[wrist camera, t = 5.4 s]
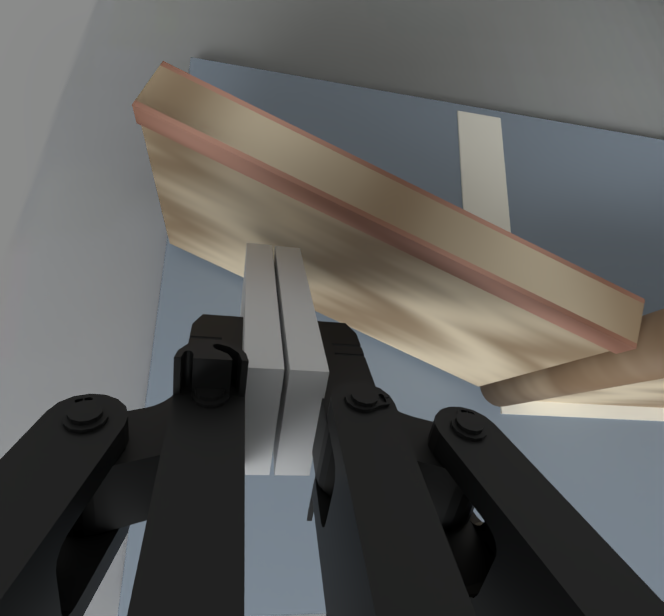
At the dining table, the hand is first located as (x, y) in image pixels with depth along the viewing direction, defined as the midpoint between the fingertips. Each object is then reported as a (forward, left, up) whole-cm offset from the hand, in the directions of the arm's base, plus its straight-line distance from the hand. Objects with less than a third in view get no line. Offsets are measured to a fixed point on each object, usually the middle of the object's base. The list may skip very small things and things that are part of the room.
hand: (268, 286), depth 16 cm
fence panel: (-3, -1, -4) cm, 5 cm away
